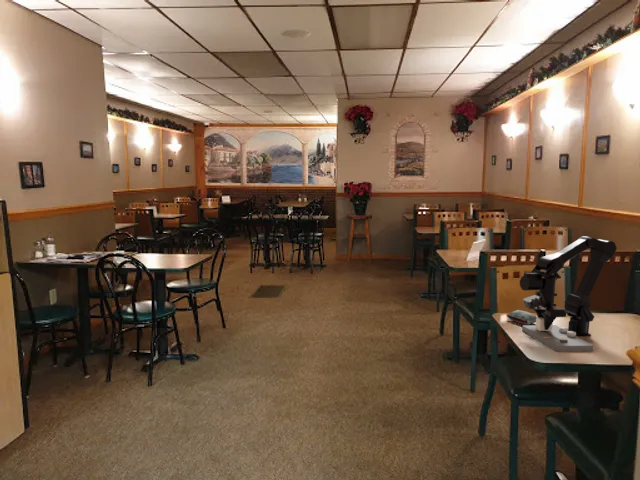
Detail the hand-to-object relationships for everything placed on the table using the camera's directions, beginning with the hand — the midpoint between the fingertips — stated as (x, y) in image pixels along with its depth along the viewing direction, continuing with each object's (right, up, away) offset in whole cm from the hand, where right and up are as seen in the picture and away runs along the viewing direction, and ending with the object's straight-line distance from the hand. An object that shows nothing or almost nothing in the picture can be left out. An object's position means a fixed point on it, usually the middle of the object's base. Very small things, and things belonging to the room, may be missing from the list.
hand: (543, 328), depth 188 cm
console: (+2, -4, -4) cm, 6 cm away
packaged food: (0, -1, +18) cm, 18 cm away
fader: (0, -1, 0) cm, 1 cm away
